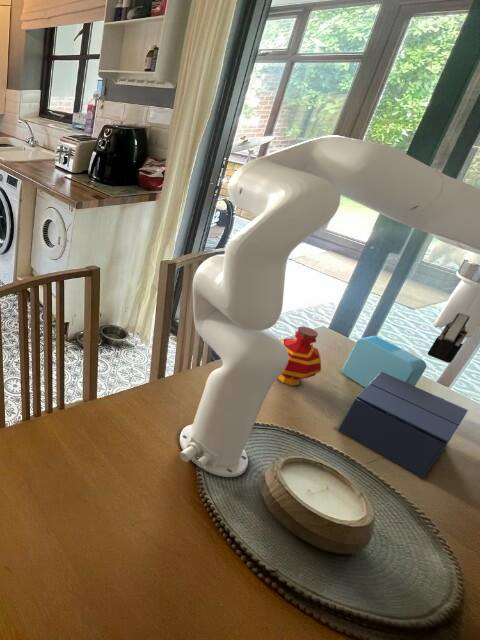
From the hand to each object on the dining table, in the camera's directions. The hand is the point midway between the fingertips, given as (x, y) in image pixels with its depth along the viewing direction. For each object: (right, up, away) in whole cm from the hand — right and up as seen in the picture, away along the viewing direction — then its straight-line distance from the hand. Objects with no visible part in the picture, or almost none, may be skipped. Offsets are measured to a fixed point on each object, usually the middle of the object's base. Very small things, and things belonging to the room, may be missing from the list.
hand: (439, 357), depth 79 cm
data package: (+12, -14, +25) cm, 31 cm away
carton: (+2, -20, +11) cm, 23 cm away
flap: (-2, -12, +5) cm, 13 cm away
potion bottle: (-8, -12, +28) cm, 32 cm away
